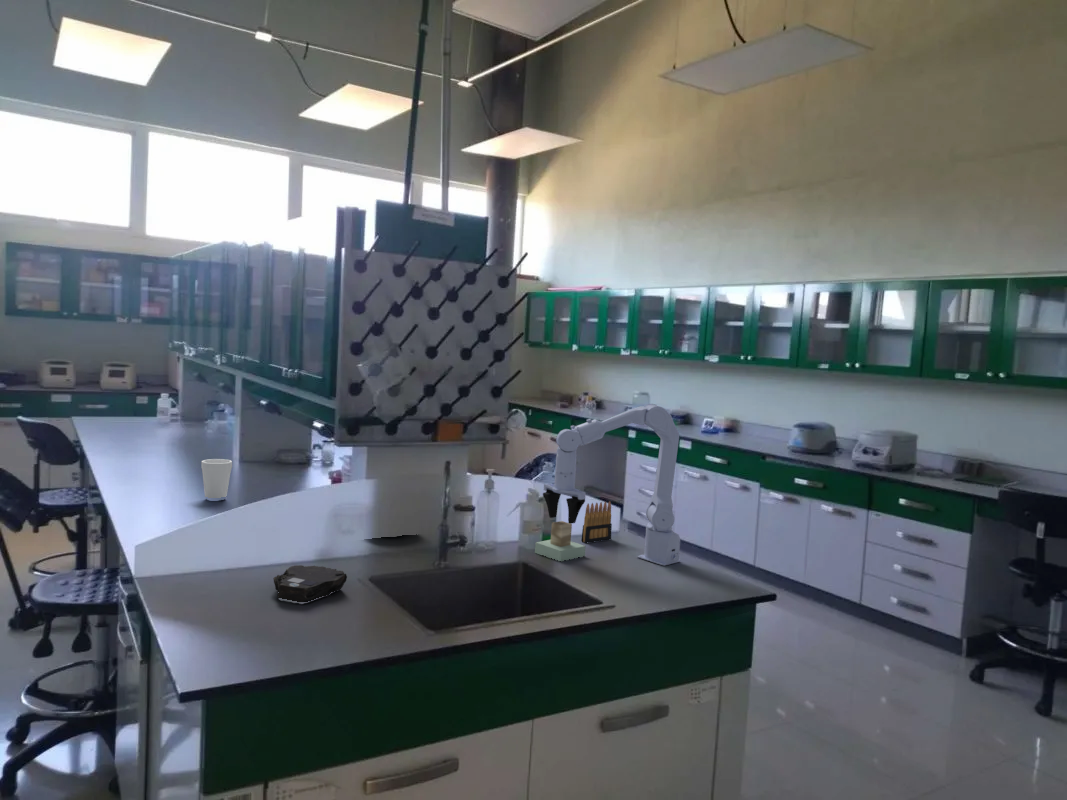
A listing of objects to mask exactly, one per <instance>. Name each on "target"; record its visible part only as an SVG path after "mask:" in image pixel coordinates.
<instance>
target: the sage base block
mask: <svg viewBox="0 0 1067 800" xmlns="http://www.w3.org/2000/svg"><path fill="white" fill-rule="evenodd" d="M550 543H551V539H547V540H542V541H536V542H535V545H534V547H535V548H534V553H535V554H537V555H541V556H542V555H544V556H543V557H545V556H546V558H548V559H551V558H552V559H551V560H554V559H555V560H554V561H557V560H558V561H557V562H559V561H561V562H565V561H564V560H566V561H569V559H570V560H573V558H575V559H579V558H578V557H580V558H583V556H584V557H586V545H584V544H581V543H578V542H574V541H572V540H571V544H570V545H567V546H562V547H559V546H556V545H553V544H550Z"/></svg>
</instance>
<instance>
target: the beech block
mask: <svg viewBox="0 0 1067 800" xmlns="http://www.w3.org/2000/svg"><path fill="white" fill-rule="evenodd" d="M572 524H573V523H572ZM572 524H570V523H569V522H566V521H563V520H559V521H553V522H551V530H550V540H551V543H550V544H553V545H556V546H559V547H562V546H567V545H570V544H571V541H572V529H573V525H572Z"/></svg>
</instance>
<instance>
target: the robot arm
mask: <svg viewBox="0 0 1067 800" xmlns="http://www.w3.org/2000/svg"><path fill="white" fill-rule="evenodd" d="M631 424H634V425H641V426H645V425H646V426H647V427H649V428H650V429H652V430H653V432H654V433H655V434H656V435H657V436H658V437H659V438H660V443H659V451H658V458H657V466H656V473H655V480H654V481H655V482H654V486H653V487H654V489H653V494H652V495H651V498H650V503H649V505H648V506H647V507H646V510H645V516H646V519H647V520H648V522H647V524H646V526H645V538H644V553H642V554H639V555H637V558H639V559H640V560H641V559H642V560H644V561H648V562H651V563H654V564H657V565H661V566H668V565H671V564H677V563H679V562H681V559H680V550H681V549H680V548H681V536H680V534H678V533H676V532H674V531H673V526H674V523H675V515H674V512H673V505H674V504H673V499H672V496H673V486H674V479H675V472H676V465H677V464H676V463H677V457H678V456H677V455H678V449H679V442H680V441H679V440H680V433H679V430H678V428H677V427H676V426H677V425H676V424H675V422H674V420H673V417H672V415H671V414H670V413H669V412H668V411H667V410H666V409H665V408H664V407H662V406H659V405H657V404H654V403H647V404H646V405H644V406H643V405H641V406H637V407H633V408H630V409H628V410H626V411H623V412H621V413H619V414H616V415H614V416H612V417H609V418H607V419H604V420H602V421H601V420H599V419H597V418H595V419H594V418H593V419H592V418H587V419H586V422H584V423H581V424H578V425H573V424H572V425H570V429H568V428H564V429H562V430H560V431H559V432H558V433H557V436H556V438H555V441H556V444H557V445H558V446H557V449H556V453H557V454H556V456H555V473H554V483H550V482H547V483H543V491H545V492H543V493H542V496H543V498H544V500H545V504H546V506H547V511H548V517H549V518H550V519H553V518H557V515H558V505H559V502H560V498H561V495H562V496H567V497H568V498H566V500H565V501H566V504H567V510H568V513H567V517H568V522H567V523H570V524H576V522H577V518H578V515H579V513H580V511H581V508H582V507H583V505H584V504H585V502H586V494H587V493H586V492H585V491H582V490H579V489H577V488H576V487H575V485H576V473H577V471H576V470H577V460H578V459H577V449H578V448H579V446H582V447H583V446H586V445H589V444H590V443H594V442H595V441H599V440H601V439H603V438H604V436H605V433H607V432H610V431H613V430H616V429H619V428H622V427H625V426H628V425H631ZM569 497H570V498H569Z"/></svg>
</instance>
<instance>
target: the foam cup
mask: <svg viewBox="0 0 1067 800" xmlns="http://www.w3.org/2000/svg"><path fill="white" fill-rule="evenodd" d="M200 464H201V465H200V466H201V467H200V468H201V470H202V471H201V472H202V482H203V490H204V498H205V497H208V498H221V497H226V496H227V495H228V490H229V484H230V479H231V474H232V473H231V472H232V469H233V461H232V460H230V459H224V458H211V459H210V458H209V459H204V460H201V463H200ZM226 498H227V497H226Z"/></svg>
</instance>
